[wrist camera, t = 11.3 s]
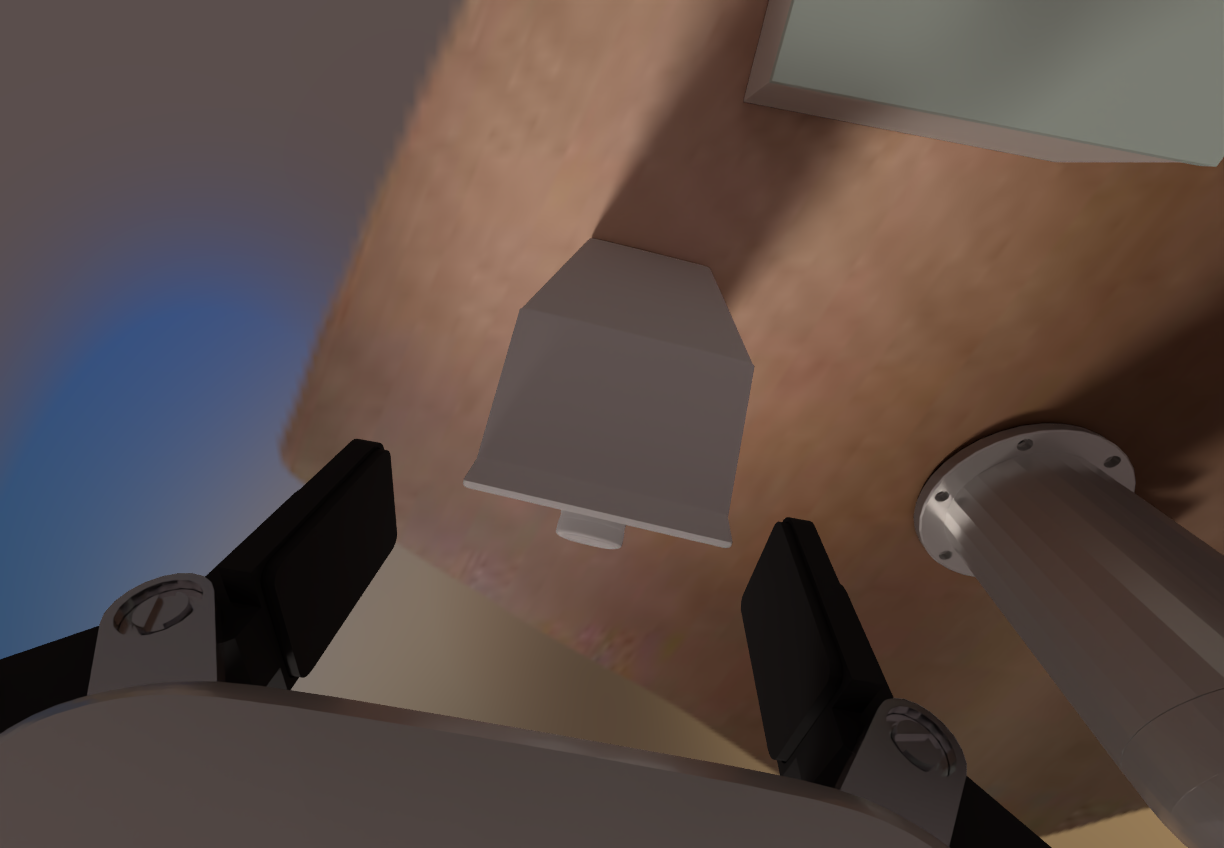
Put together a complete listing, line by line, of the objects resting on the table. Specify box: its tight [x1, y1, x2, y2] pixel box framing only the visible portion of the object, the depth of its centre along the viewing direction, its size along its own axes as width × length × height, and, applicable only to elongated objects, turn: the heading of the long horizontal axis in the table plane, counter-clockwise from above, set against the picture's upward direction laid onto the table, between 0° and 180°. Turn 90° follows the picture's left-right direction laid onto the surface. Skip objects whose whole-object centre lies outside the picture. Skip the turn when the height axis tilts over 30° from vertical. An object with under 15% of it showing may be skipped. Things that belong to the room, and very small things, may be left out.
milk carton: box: [463, 238, 754, 549], centre depth 20 cm, size 7×7×19 cm
